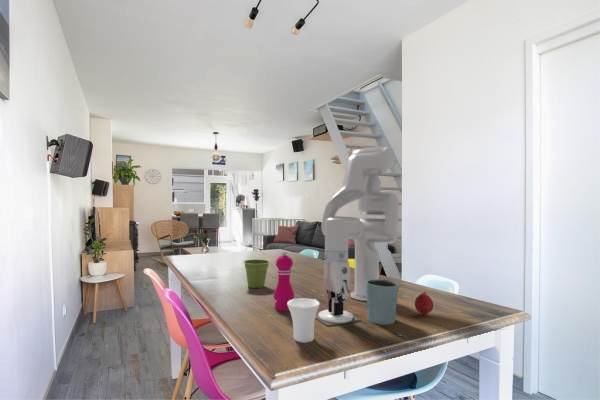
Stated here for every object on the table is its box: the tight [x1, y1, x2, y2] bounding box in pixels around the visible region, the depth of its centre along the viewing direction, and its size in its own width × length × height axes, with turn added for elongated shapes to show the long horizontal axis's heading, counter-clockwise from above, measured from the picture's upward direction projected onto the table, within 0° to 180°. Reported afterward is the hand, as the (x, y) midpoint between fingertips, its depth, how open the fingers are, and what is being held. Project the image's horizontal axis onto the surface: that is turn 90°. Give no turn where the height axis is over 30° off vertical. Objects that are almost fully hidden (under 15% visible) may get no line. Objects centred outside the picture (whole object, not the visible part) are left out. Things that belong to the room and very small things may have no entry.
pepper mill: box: [273, 251, 295, 312], centre depth 117 cm, size 7×7×20 cm
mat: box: [315, 313, 361, 327], centre depth 106 cm, size 12×10×1 cm
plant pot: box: [243, 258, 271, 289], centre depth 148 cm, size 12×12×11 cm
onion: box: [414, 291, 434, 317], centre depth 111 cm, size 6×6×8 cm
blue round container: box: [366, 278, 400, 326], centre depth 106 cm, size 10×10×12 cm
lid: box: [318, 297, 354, 324], centre depth 106 cm, size 11×11×6 cm
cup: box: [287, 297, 321, 344], centre depth 90 cm, size 9×9×10 cm
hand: (335, 312), depth 106 cm, fingers closed on lid, 2 cm apart
